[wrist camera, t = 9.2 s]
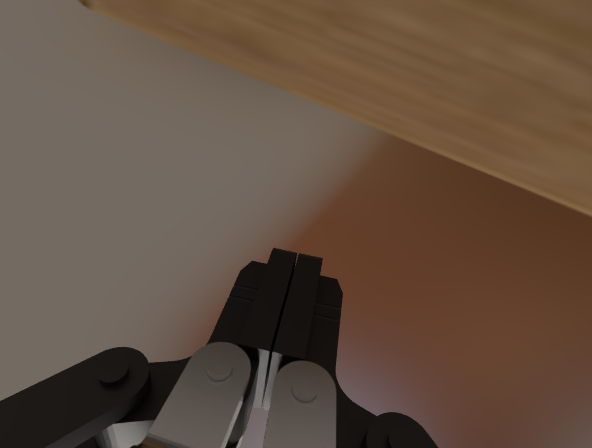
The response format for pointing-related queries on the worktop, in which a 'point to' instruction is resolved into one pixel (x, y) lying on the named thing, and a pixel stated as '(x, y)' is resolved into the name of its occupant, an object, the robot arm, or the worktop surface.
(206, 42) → the worktop surface
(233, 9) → the worktop surface
